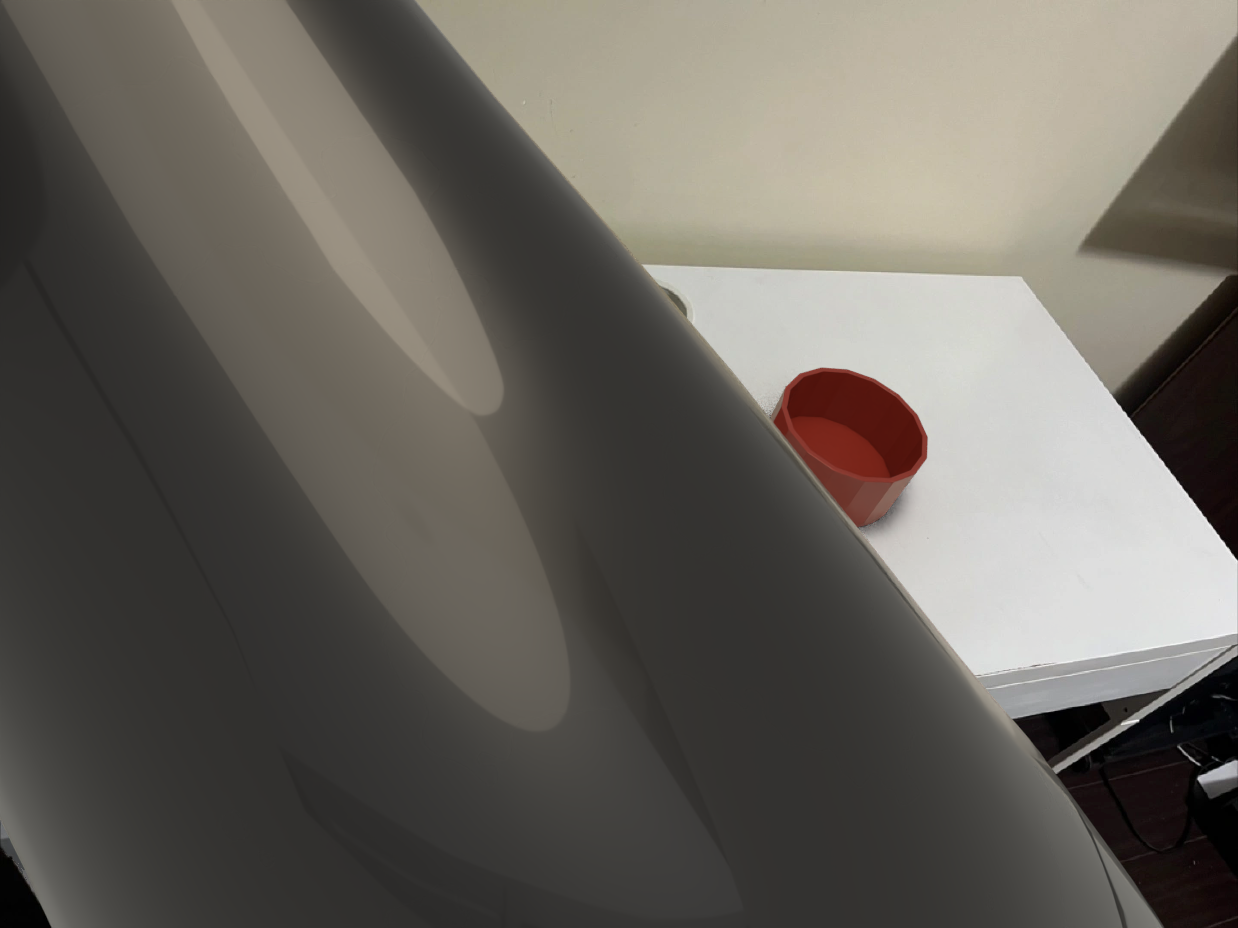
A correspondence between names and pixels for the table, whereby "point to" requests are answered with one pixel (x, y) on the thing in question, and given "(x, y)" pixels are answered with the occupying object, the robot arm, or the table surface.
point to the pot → (853, 438)
